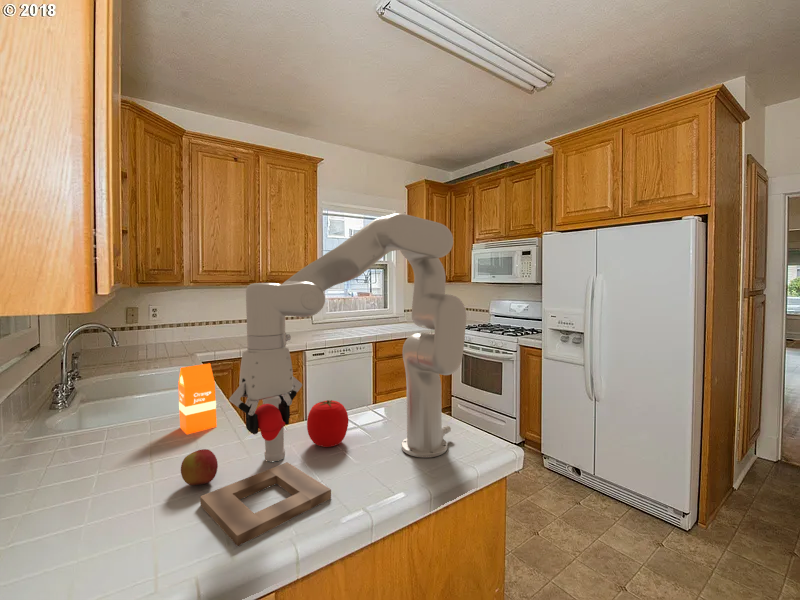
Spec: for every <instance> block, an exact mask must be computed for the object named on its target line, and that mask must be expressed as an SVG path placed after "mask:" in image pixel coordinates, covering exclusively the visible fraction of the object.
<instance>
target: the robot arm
mask: <svg viewBox="0 0 800 600" xmlns="http://www.w3.org/2000/svg"><path fill="white" fill-rule="evenodd" d="M453 246H454V236H453V233H452V232H451V230H450V229H449V228H448V227H447V225H445V224H443V223H441V222H437V221H433V220H430V219H427V218H426V219H425V218H423V217H422V218H421V217H418V216H414V215H409V214H406V213H393V214H389V215H385V216H381V217H378V218H374V219H373V220H372V221H370V222H369V223H367V224H366V225H365V226H363V227H362V228H360V229H359V230H358V231H357V232H356V233H354V234H353V235H351V236H349V238H347V239H346V240H344V241H343V242H342V243H341V244H339V245H338V246H336V247H335V248H333V249H331V250H329V251H328V252H327V253H325V254H324V255H322V256H320V257H319V258H317V259H315V260H314V261H312V262H310V263H309V264H308V265H306V266H303V268H301V269H300V270H298V271H297V272H296V273H294V274H293V275H291V276H290V277H289V278H288V279H286V280H285V281H284V282H283V283H276V282H258V283H257V282H255V283H251V284H249V285H247V287H246V289H245V306H246V307H245V308H246V314H245V315H246V343H247V344H246V345H247V346H246V347H247V349H245V350H243V351H242V356H241V360H240V368H239V370H240V371H239V383H238V385H239V386H238V387H237V388H236V390H235V391H234V392H233V393H232V394H231V396H229V398H228V400H229V401H228V402H230V403H232V405H234V406H236V407H237V408H238V409H240V410H241V411H242V412H243V413H245V428H246V430H247V431H248V432H249V433H251V434H253V435H257V434H258V433H259V428H258V415H257V414H255V411H256V409H257V408H258V404H259V402H260V401H263V399H267V398H271V397H275V396H278V397H279V399H280V401H281V403H279V405H278V408H279V411H280V412H281V415H282V419H283V421H284V422H285V426H287V425H289V424H290V418H291V413H290V412H291V410H290V409H291V408H290V407H291V405H292V403H293V400H294V399H295V397H296V396H297V394H298V392H299V391H300V390H301V388H302V386H303V383H302V382H300V381H299V380H298V379H297V378H296V377H295V376H294V375H293V374H294V370H293V363H292V358H291V353H290V349H289V347H288V346H287V342H288V341H290V340H291V338H292V337H291V335H290V333H289V334H287V333H286V317H301V318H309V317H312V316H315V315H317V314H319V313H320V312H321V311H322V309H323V308H324V305H325V302H326V297H325V293H324V292H325V291H326V290H328V289H331V288H332V287H334V286H337V285H339V284H343V283H347V282H350V281H352V280H354V279H357V278H358V277H360V276H361V275H363V274H364V273H366V272H367V271H368V270H369V269H370V268H372V266H374V265H375V264H376V263H377V262H378V261H380V260H381V259H382V258H383V257H385V256H386V255H388V253H390V252H394V251H400V253H401V255H402V256H403V257H404V258H405V260H407V261H408V263H409V264H410V266H411V269H412V271H413V277H414V280H413V281H414V282H413V293H412V303H411V304H412V305H411V319H412V322H413V324H414V325H416V327H419V328H423V329H428V330H434V334H432V333H431V334H430V333H426V332H425V333H424V332H419V333H417V332H415V333H413V334H411V335H409V336H408V337H407V338H406V340H405V341H404V343H403V345H402V359H403V364H404V370H405V378H406V380H405V381H406V382H405V383H406V438H404V439H403V440H402V441H401V449H402V451H403V452H404V453H406V454H407V455H409V456H411V457H416V458H424V459H425V458H434V457H435V458H437V457H439V456H441V455H443V454H445V453H446V452H447V450H448V442H447V441H446V439H444V437H445V435H446V434H448V433H450V432H451V431H452V430H451V429H452V428H451V427H450V425H445V426H443V427H442V425H443V424H442V422H443V421H442V417H443V416H442V410H443V409H442V381H441V380H442V379H441V376H442V375H443V376H450V375H452V374H454V373H456V372H457V370H459V368H460V365H461V363H462V360H463V355H464V347H465V337H466V327H467V311H466V310H467V309H466V307H465V305H464V303H463V301H462V300H461V299H460V298H459V297H457V296H456V295H452V294H448V293H447V294H446V277H447V276H446V270H445V268H444V265H443V263H442V262H441V259H440V258H444V257H446V256H447V255H449V253H450V252H451V250H452V248H453ZM440 375H441V376H440ZM241 398H246V401H245V403H244V402H243V401H242V400H241Z"/></svg>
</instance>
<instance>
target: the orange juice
mask: <svg viewBox="0 0 800 600" xmlns="http://www.w3.org/2000/svg"><path fill="white" fill-rule="evenodd" d="M177 388H178V389H177V390H178V409H179V427H180V429H181V430H182V432H183V433H184V434H186V435H190V434H194V433H199V432H202V431H206V430H210V429H213V428H217V427H218V425H217V401H216V382H215V377H214V374H213V369H212V365H211V363H202V364H196V365H191V366H182V367H180V369H179V377H178V387H177Z"/></svg>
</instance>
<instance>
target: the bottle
mask: <svg viewBox="0 0 800 600" xmlns="http://www.w3.org/2000/svg"><path fill="white" fill-rule="evenodd" d="M279 403H281V401H280V399H279V397H278V396H275V397H271V398H267V399H263V400H262V405H263V404H272V405H274V406H276V407H277V408H278V405H279ZM278 409H279V408H278ZM284 427H285V426H284ZM284 427H283V428H281V430H280V431H279V434H278V435H277V437H276V438H275V439H273V440H271V441H266V440H265V439H264V449H265V451H264V459H265V461H266V460H267V461H271V462H272V461H279V460H281V459H283V458H284V459H285V457H286V450H285V442H284V441H285V437H284V436H285V433H284V432H285V431H284V430H285V428H284ZM284 459H283V460H284ZM267 461H266V462H267ZM281 461H282V460H281ZM279 462H280V461H279Z"/></svg>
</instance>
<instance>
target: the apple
mask: <svg viewBox="0 0 800 600" xmlns="http://www.w3.org/2000/svg"><path fill="white" fill-rule="evenodd" d="M218 464H219V463H218V458H217V457H216V455H215V453H214V452H213V451H211V450H210V449H207V448H205V449H204V448H203V449H198V450H195V451H193V452H191V453H189V454H188V455H186V456H185V457H184V459H183V460H182V462H181V465H180V475H181V477H182V480H183V481H184V483H185V484H187V485H190V486H199V485H205V484H208V483H210V482H212V481H213V480H214V479H215V477H216V475H217V472H218Z"/></svg>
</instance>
